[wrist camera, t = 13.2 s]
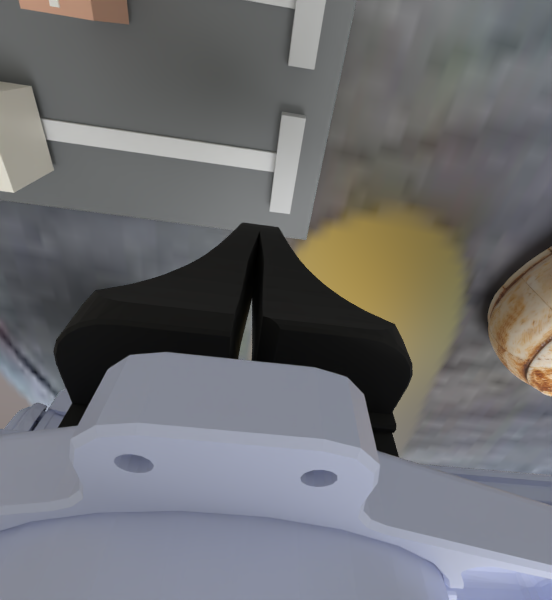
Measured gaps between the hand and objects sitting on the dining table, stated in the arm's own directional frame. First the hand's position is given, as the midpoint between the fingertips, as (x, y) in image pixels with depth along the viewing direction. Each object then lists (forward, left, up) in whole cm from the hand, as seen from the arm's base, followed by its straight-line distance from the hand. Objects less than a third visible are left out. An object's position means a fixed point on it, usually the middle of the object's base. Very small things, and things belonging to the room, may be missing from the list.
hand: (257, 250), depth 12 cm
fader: (+1, +13, -9) cm, 16 cm away
